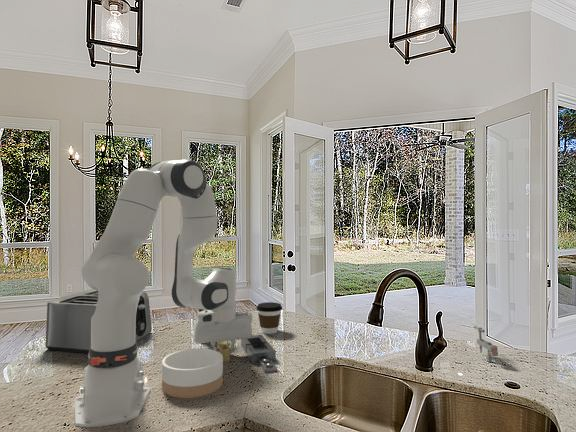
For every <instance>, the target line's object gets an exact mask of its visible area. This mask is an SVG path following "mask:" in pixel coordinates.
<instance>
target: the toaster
mask: <svg viewBox="0 0 576 432" xmlns="http://www.w3.org/2000/svg"><path fill="white" fill-rule="evenodd" d="M97 301H98V290H95V289H93V288H90V289H87V290H83V291H78V292H74V293H71V294H67V295H64V296H61V297H57V298H56V299H55V298H54V299H52V300H49V301H48V302H47V303H46V326H45V327H46V328H45V329H46V330H45V345H44V346H45V348H46V349H47V350H49V351H55V352H58V351H59V352H67V353H68V352H69V353H80V354H88V353H89V348H90V347H91V318H92V316H93V314H94V313H95V310H96V306H97ZM152 330H153V329H152V318H151V309H150V299H149V295H148V293H147V292H146V291H144V290H143V291H142V292H141V295H140V299H139V302H138V306H137V312H136V334H135V341H136V342H137V341H138V340H140V339H141V338H144V337H145V336H148V335H150V333H151V332H152Z"/></svg>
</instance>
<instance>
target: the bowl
mask: <svg viewBox="0 0 576 432" xmlns="http://www.w3.org/2000/svg"><path fill="white" fill-rule="evenodd" d="M223 363H224V361H223V356H222V354H221V353H220V352H218V351H215V350H214V349H209V348H204V347H203V348H202V347H200V348H198V347H197V348H187V349H183V350H181V349H180V350H177V351H174V352H172V353H170V354H167V355H166V356H165V357H164V358H163V359H162V361H161V390H162V392H163V393H165V395H168V396H170V397H173V398H179V399H193V398H200V397H203V396H208V395H210V394H213V393H215V392H217V391H218V390H219V389H221V388H222V386H223V383H224V382H223V381H224V379H223V374H224V370H223V369H224V367H223V366H224V364H223Z"/></svg>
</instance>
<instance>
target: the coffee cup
mask: <svg viewBox="0 0 576 432" xmlns="http://www.w3.org/2000/svg"><path fill="white" fill-rule="evenodd" d="M256 310H257V311H258V321H259V327H260V331H261V333H263V334H266V335H272V334H276V333H277V332H278V328H279V325H280V319H281V311H283V307H282V304H281V303H278V302H271V301H270V302H267V301H266V302H260V303H258V304H257V306H256Z"/></svg>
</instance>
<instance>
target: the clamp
mask: <svg viewBox="0 0 576 432" xmlns="http://www.w3.org/2000/svg"><path fill="white" fill-rule="evenodd" d="M473 328H474V329H476V330H477V332H478V338H477V339H476V344H477V345H479V353H481V354H482V353H483V348H484V349H486V350H487V354H486V359H487V362H491V363H492V362H493V357H498V356H499V351H498V346H497V345H495V344H493V343H492V342H490V341H487V340H485V339H483V338H482V333H483V334H484V333H485V329H483V328H482V327H477V325H474V326H473Z"/></svg>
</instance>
